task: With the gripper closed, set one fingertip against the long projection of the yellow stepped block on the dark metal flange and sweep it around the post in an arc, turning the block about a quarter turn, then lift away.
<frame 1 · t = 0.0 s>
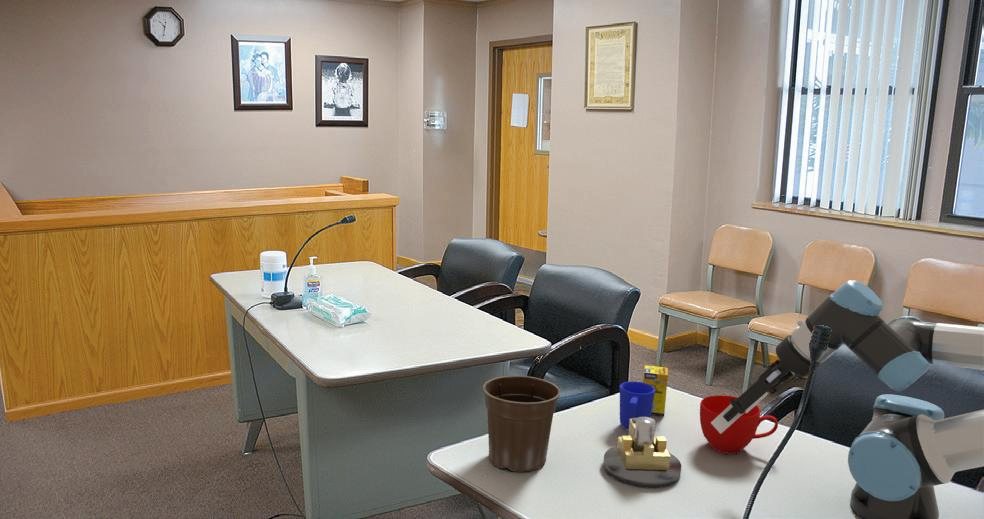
hand: (729, 417, 154), 15 cm above the table, tool tilted 35°, fingers open, 13 cm apart
mug: (633, 431, 184), on the table
yellow stepped block: (640, 442, 165), point 5 cm above the table, hinge at 0.0°
flange: (641, 469, 164), on the table
supplement box: (652, 411, 196), on the table
ceramic cup: (734, 449, 176), on the table
plant pot: (518, 460, 166), on the table
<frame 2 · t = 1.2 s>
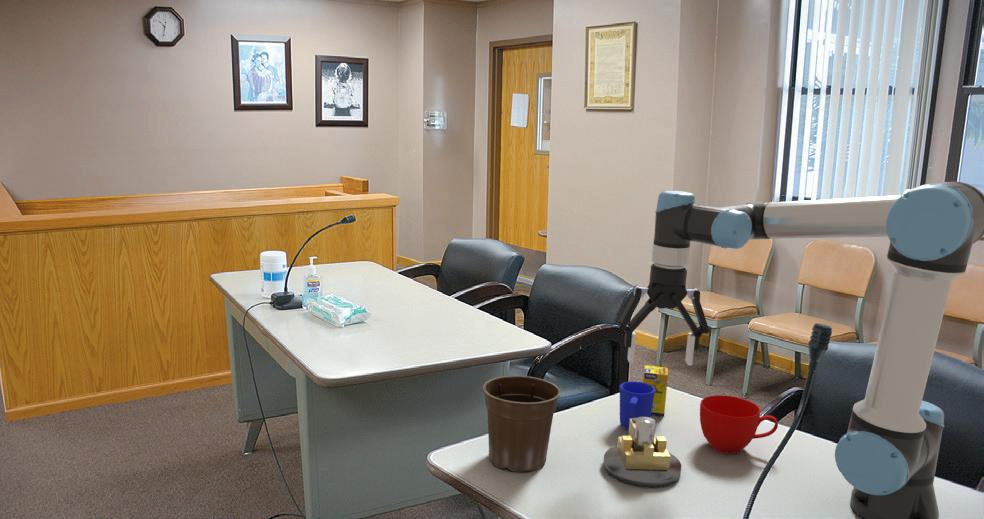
hand: (659, 362, 168), 21 cm above the table, tool pointing down, fingers open, 12 cm apart
nothing on the table moved.
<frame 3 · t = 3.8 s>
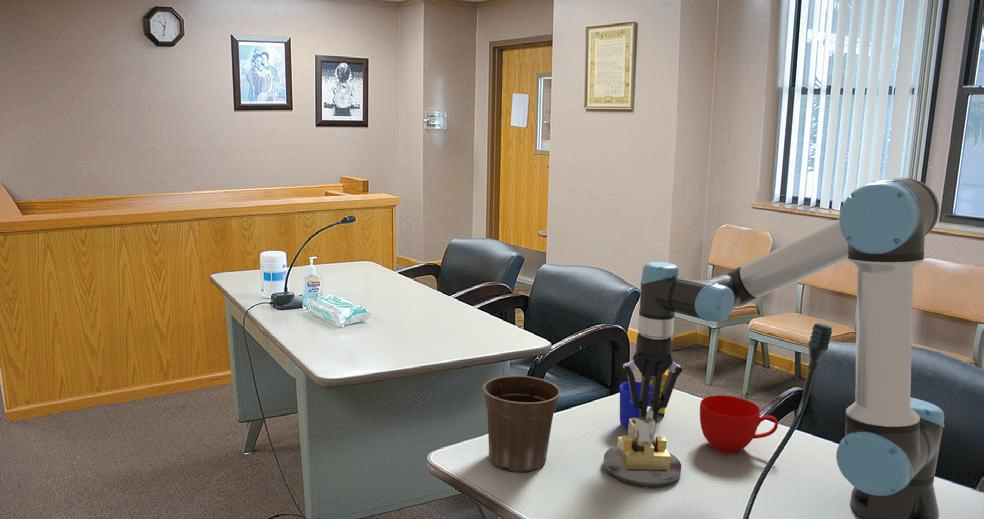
hand: (646, 436, 172), 4 cm above the table, tool pointing down, fingers closed
yellow stepped block: (640, 442, 165), point 5 cm above the table, hinge at 0.6°, touching gripper
everything else where it was.
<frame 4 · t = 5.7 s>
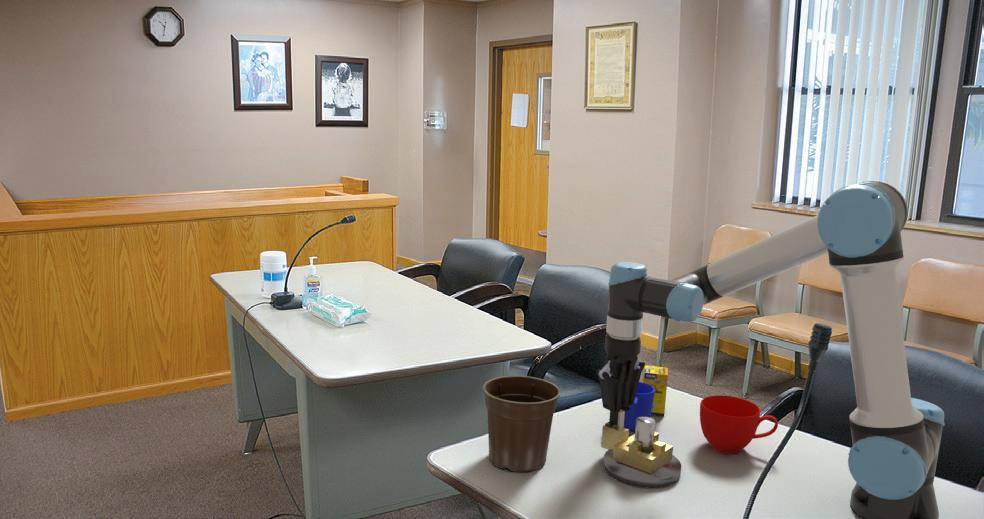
hand: (616, 437, 171), 4 cm above the table, tool pointing down, fingers closed
yellow stepped block: (633, 443, 165), point 5 cm above the table, hinge at 47.7°, touching gripper
everything else where it was.
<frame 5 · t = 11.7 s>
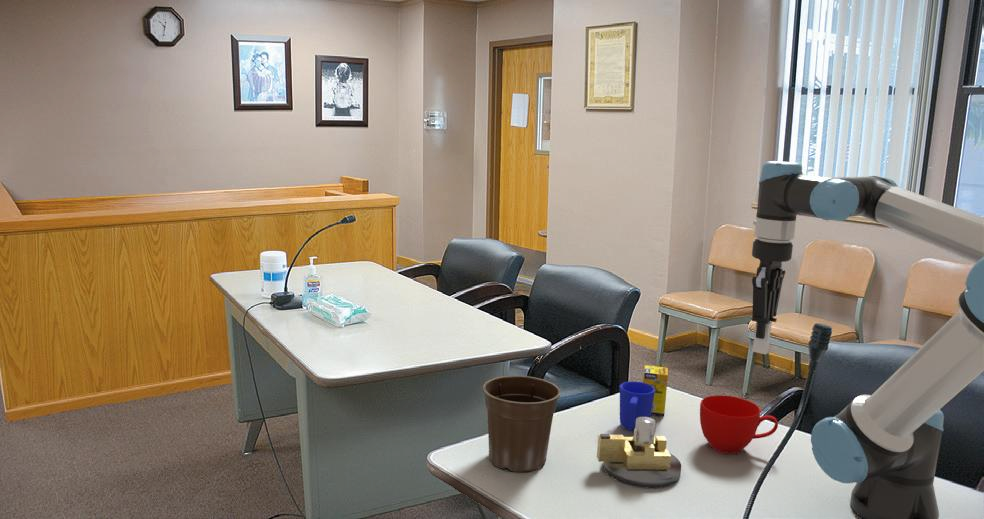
hand: (760, 352, 160), 26 cm above the table, tool pointing down, fingers closed
yellow stepped block: (631, 447, 163), point 5 cm above the table, hinge at 92.1°
everything else where it was.
at the end: yellow stepped block at +92° (first picture: +0°) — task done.
